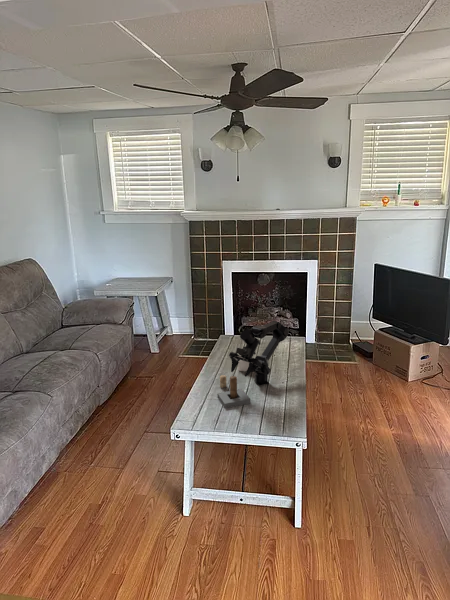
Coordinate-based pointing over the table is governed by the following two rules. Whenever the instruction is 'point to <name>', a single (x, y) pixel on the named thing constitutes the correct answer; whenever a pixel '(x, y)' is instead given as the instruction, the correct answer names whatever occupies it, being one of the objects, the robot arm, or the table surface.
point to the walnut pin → (233, 387)
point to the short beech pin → (223, 381)
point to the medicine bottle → (243, 365)
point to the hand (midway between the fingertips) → (238, 374)
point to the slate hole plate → (227, 402)
